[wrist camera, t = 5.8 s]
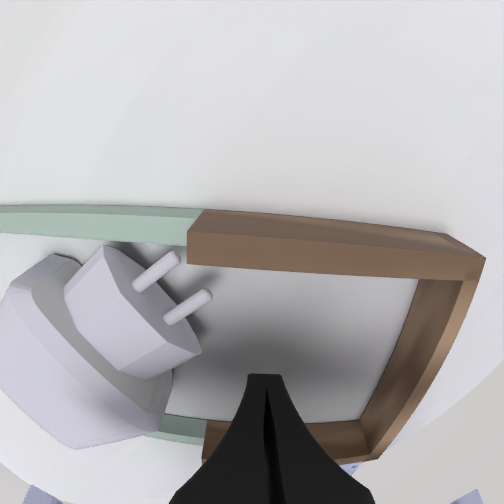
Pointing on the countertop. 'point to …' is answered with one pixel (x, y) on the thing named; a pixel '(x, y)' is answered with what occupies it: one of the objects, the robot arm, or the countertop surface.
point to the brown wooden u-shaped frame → (357, 264)
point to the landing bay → (114, 229)
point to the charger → (94, 345)
